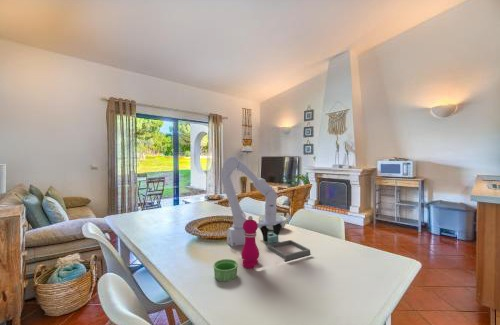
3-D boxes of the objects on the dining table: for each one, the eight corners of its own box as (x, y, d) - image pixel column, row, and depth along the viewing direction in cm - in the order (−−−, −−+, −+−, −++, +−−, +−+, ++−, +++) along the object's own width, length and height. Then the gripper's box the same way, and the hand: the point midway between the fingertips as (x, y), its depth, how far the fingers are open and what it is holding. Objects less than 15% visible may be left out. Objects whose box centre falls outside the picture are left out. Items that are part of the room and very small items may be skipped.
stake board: (268, 248, 111) (268, 237, 111) (259, 242, 118) (259, 232, 118) (281, 244, 115) (281, 235, 115) (272, 239, 122) (272, 230, 122)
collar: (270, 245, 112) (270, 238, 112) (262, 240, 117) (262, 234, 117) (279, 243, 114) (279, 236, 114) (272, 239, 120) (272, 232, 120)
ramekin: (215, 284, 80) (215, 271, 79) (211, 271, 88) (211, 260, 88) (240, 280, 82) (240, 268, 82) (234, 268, 91) (234, 257, 91)
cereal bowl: (288, 234, 131) (288, 221, 131) (258, 233, 131) (258, 221, 131) (284, 225, 148) (284, 214, 148) (258, 224, 148) (258, 214, 148)
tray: (285, 262, 96) (285, 255, 96) (267, 250, 108) (267, 244, 108) (310, 255, 103) (310, 249, 103) (290, 245, 115) (290, 239, 115)
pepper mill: (261, 262, 96) (261, 214, 95) (256, 270, 89) (256, 219, 88) (244, 259, 98) (245, 213, 98) (238, 267, 91) (238, 217, 91)
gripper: (262, 216, 109) (262, 245, 109) (287, 213, 116) (287, 239, 116) (255, 213, 115) (255, 240, 115) (278, 210, 122) (278, 235, 122)
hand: (270, 239), depth 116 cm, fingers closed on collar, 6 cm apart
